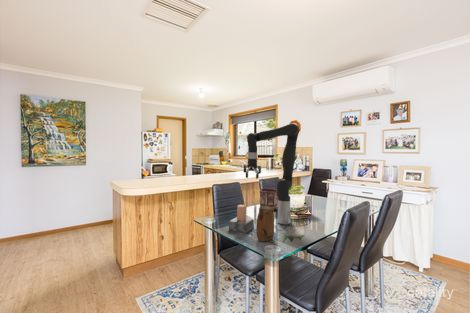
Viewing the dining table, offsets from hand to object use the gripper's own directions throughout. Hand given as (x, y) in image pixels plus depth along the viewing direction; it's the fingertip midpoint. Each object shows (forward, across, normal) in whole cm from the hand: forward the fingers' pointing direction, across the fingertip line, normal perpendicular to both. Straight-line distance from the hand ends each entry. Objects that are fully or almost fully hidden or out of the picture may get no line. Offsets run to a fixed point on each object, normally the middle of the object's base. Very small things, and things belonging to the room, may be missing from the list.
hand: (252, 178), depth 183 cm
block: (+32, +25, -36) cm, 54 cm away
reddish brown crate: (+32, +4, +32) cm, 46 cm away
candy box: (+32, +34, +34) cm, 58 cm away
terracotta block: (+26, +4, -26) cm, 37 cm away
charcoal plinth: (+32, +4, -26) cm, 42 cm away
